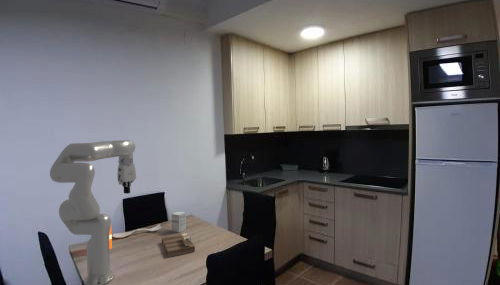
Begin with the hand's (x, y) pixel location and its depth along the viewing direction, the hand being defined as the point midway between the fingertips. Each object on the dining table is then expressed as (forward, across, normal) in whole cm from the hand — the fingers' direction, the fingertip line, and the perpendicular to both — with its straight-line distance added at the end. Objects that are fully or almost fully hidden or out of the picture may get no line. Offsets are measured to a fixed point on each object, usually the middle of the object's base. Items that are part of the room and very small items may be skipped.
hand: (127, 193), depth 156 cm
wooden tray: (+35, +15, -23) cm, 45 cm away
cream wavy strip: (+36, +26, +16) cm, 47 cm away
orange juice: (+35, 0, +20) cm, 41 cm away
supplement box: (+35, +40, -8) cm, 54 cm away
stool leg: (+32, +15, -29) cm, 45 cm away
